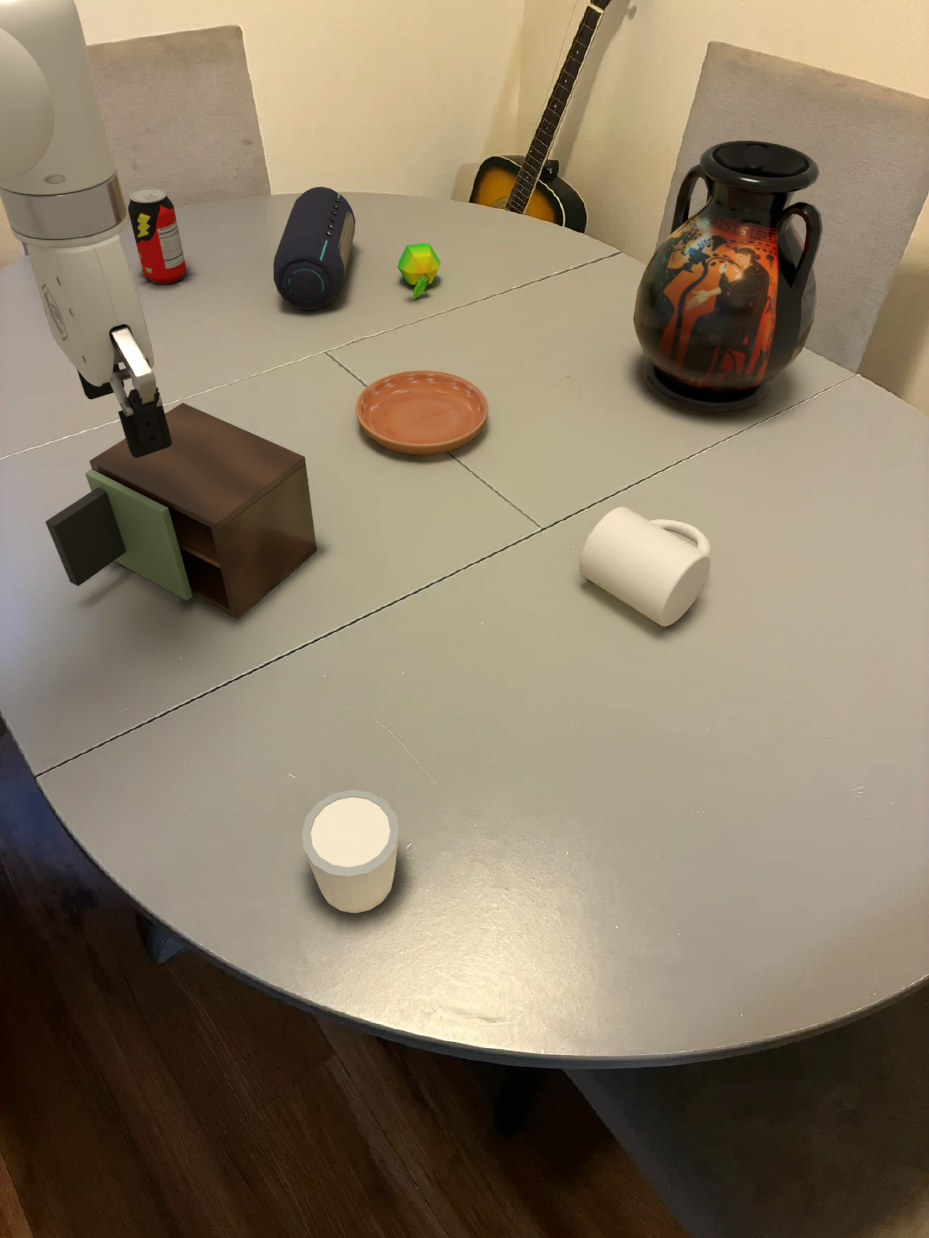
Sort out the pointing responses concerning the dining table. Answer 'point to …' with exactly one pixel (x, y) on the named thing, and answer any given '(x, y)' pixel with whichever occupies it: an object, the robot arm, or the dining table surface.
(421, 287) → the apple
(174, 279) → the beverage can
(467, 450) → the dining table surface
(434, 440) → the saucer
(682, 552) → the mug
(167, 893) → the dining table surface
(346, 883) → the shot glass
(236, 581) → the cupboard
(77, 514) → the sliding door
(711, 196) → the amphora vase
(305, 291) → the portable speaker
